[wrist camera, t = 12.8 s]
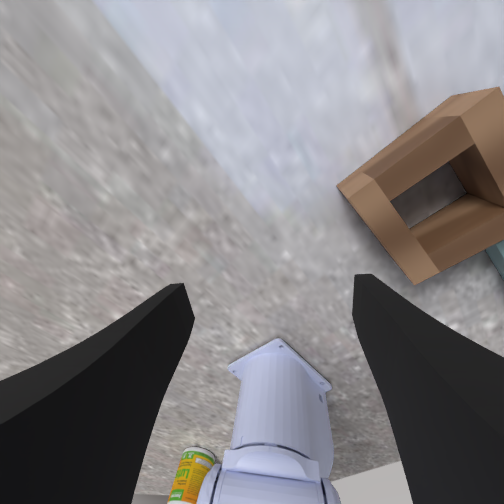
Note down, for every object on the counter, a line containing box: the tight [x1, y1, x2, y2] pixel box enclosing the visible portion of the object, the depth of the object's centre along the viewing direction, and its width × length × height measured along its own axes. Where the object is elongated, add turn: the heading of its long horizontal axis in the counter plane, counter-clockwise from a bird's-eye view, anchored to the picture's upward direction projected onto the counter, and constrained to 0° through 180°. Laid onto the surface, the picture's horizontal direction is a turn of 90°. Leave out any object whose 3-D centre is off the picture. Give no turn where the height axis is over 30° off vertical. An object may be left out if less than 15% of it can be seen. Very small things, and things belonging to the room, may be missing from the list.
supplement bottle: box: [167, 447, 215, 504], centre depth 35 cm, size 5×5×10 cm
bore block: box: [337, 87, 504, 285], centre depth 15 cm, size 8×8×4 cm
